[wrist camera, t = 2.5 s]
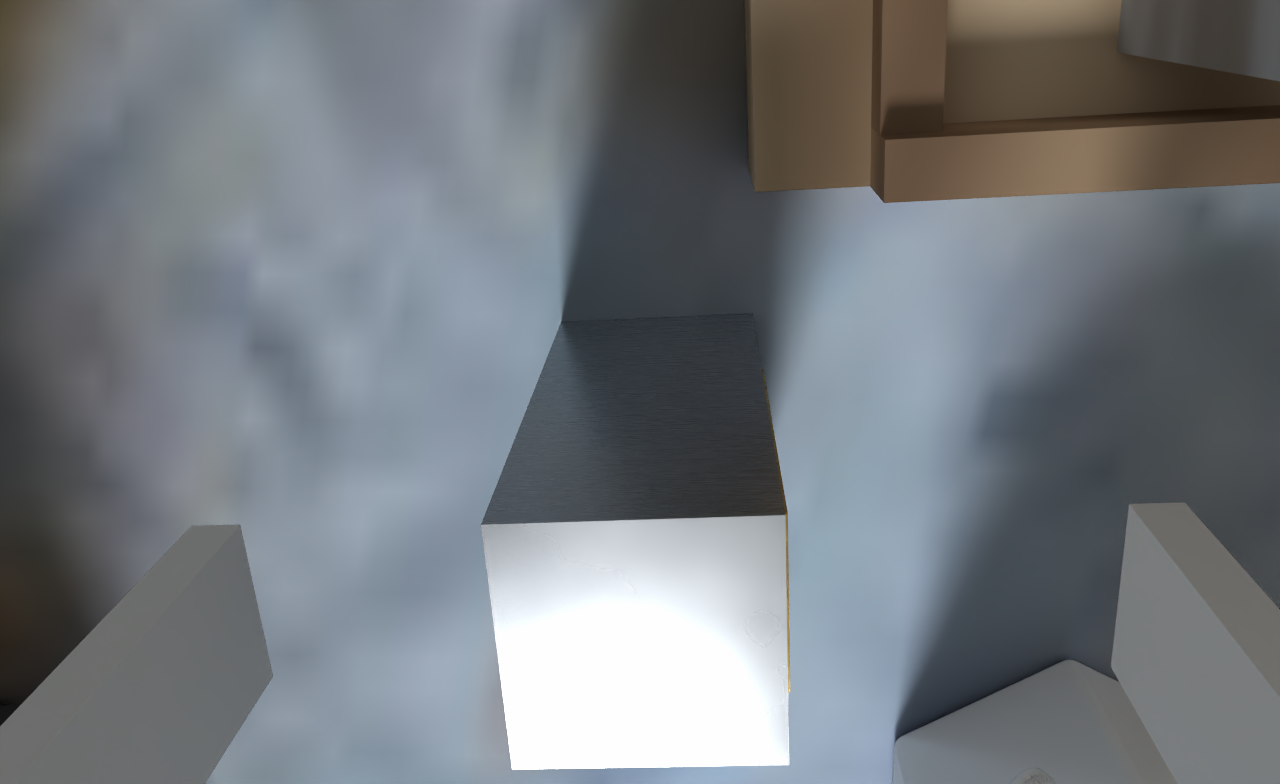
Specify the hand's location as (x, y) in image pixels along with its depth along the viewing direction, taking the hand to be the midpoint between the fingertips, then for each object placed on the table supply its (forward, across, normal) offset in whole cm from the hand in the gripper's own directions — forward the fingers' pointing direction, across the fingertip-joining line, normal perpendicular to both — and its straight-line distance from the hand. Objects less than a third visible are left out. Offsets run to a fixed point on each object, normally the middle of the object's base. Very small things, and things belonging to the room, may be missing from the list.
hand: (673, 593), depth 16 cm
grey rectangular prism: (+8, 0, 0) cm, 8 cm away
